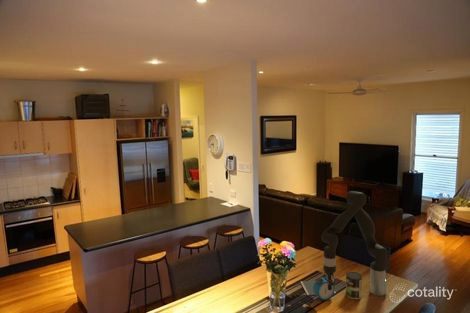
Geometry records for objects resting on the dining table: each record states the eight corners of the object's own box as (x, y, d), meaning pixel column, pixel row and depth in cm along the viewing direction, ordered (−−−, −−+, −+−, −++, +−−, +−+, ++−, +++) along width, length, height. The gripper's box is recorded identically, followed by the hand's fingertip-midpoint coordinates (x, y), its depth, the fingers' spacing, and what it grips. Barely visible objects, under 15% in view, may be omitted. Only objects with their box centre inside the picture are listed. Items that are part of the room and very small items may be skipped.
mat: (326, 280, 237) (326, 279, 237) (336, 293, 219) (336, 292, 219) (300, 282, 236) (300, 281, 236) (307, 295, 218) (307, 294, 218)
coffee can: (352, 300, 210) (353, 280, 208) (342, 292, 220) (342, 273, 218) (365, 297, 214) (365, 277, 212) (354, 289, 223) (354, 270, 222)
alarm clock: (317, 302, 210) (317, 280, 208) (312, 297, 215) (312, 276, 214) (335, 298, 213) (335, 277, 212) (329, 293, 219) (329, 272, 217)
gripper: (339, 268, 194) (339, 294, 196) (331, 258, 207) (331, 283, 209) (327, 268, 194) (327, 295, 196) (320, 259, 207) (320, 284, 209)
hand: (329, 289), depth 202 cm, fingers closed
